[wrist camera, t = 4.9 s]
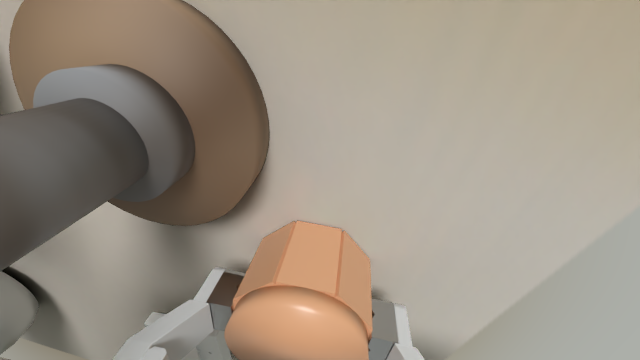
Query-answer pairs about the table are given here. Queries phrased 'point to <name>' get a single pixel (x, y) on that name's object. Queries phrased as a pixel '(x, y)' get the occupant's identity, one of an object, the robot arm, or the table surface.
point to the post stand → (124, 118)
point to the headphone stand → (203, 344)
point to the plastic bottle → (14, 310)
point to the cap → (303, 298)
